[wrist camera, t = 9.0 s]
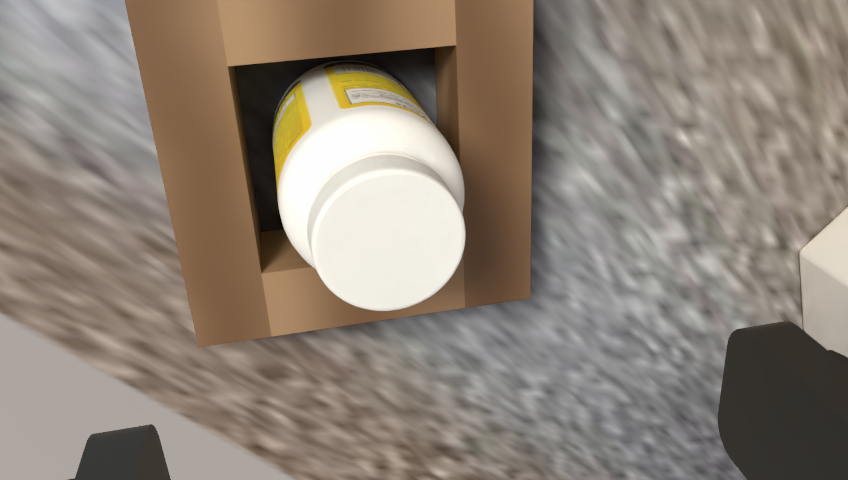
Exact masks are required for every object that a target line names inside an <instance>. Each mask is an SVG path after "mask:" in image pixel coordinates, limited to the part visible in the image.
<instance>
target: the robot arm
mask: <svg viewBox="0 0 848 480" xmlns="http://www.w3.org/2000/svg"><path fill="white" fill-rule="evenodd" d="M718 426H719V432H720V436H721V440H722V442H723V445H724V447H725V450H726V452H727V453H728V455H729V457H730V458H731V460H732V461H733V462H734V464H735V465H736V466H737V467H738V468H739V470H740V471H741V472H742V473H743V475H744V476H745V477H746V478H747V480H848V357H846V356H844V355H842V354H840V353H837V352H835V351H833V350H826V349H825V348H823V347H822V346H821V345H820V344H819V343H817V342H816V341H815V340H814V339H812V338H811V337H810V336H809V335H808V334H806V333H805V332H804V331H803V330H802V329H800V328H799V327H798V326H796V325H795V324H793V323H791V322H787V321H785V322H778V323H772V324H766V325H760V326H754V327H748V328H742V329H737V330H735V331H734V332H733V333H732V334H731V335H730V337H729V340H728V345H727V352H726V359H725V367H724V374H723V381H722V389H721V396H720V404H719V411H718ZM69 480H171V479H170V476H169V472H168V468H167V465H166V461H165V458H164V454H163V450H162V446H161V442H160V439H159V435H158V433H157V431H156V429H155V427H154V426H153V425H145V426H139V427H133V428H127V429H121V430H115V431H109V432H103V433H96V434H92V435H91V436H90V437H89V438H88V440H87V443H86V446H85V449H84V452H83V455H82V458H81V462H80V465H79V468H78V471H77V474H76V477H75V479H69Z"/></svg>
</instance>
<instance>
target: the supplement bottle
mask: <svg viewBox="0 0 848 480" xmlns="http://www.w3.org/2000/svg"><path fill="white" fill-rule="evenodd" d="M272 143H273V152H274V162H275V173H276V184H277V198H278V206H279V212H280V216H281V221H282V224H283V227H284V230H285V232H286V234H287V236H288V238H289V240H290V242H291V243H292V245H293V246H294V248H295V249H296V250H297V252H298V253H299V254H300V255H301V256H302V257H303V259H304V260H305V261H306V262H307V263H308V264H310V265H311V266H312V267H313V268H315V269H316V270H317V272H318V274H319V276H320V278H321V279H322V281H323V282H324V284H325V285H326V286H327V287H328V288H329V289H330V290H331V291H332V292H333V293H334V294H335V295H336V296H338V297H339V298H341V299H342V300H344V301H345V302H348V303H349V304H352V305H354V306H356V307H360V308H363V309H369V310H375V311H391V310H398V309H402V308H406V307H410V306H413V305H415V304H418V303H420V302H422V301H424V300H425V299H427V298H429V297H431V296H432V295H433V294H435V293H436V292H437V291H438V290H440V289H441V288H442V287H443V286H444V285H445V284H446V283H447V282H448V280H449V279H450V278H451V277H452V275H453V274H454V272H455V270H456V269H457V267H458V265H459V263H460V260H461V258H462V255H463V251H464V247H465V238H466V230H465V223H464V218H463V215H462V213H463V206H464V181H463V175H462V171H461V168H460V165H459V162H458V160H457V158H456V156H455V154H454V152H453V150H452V149H451V147H450V145H449V144H448V142H447V141H446V139H445V138H444V137H443V135H442V134H441V133H440V131H439V130H438V129H437V127H436V126H435V125H434V124H433V122H432V121H431V120H430V118H429V117H428V116H427V114H426V113H425V111H424V110H423V109H422V108H421V106H420V105H419V104H418V102H417V101H416V100H415V98H414V97H413V96H412V95H411V93H410V92H409V91H408V90H407V89H406V87H405V86H404V85H403V84H402V83H401V82H400V81H399V80H398V79H397V78H396V77H394V76H393V75H392V74H390V73H389V72H387V71H386V70H384V69H382V68H380V67H378V66H376V65H373V64H370V63H367V62H362V61H356V60H338V61H332V62H327V63H324V64H321V65H319V66H316V67H314V68H312V69H310V70H309V71H307V72H305V73H304V74H302V75H301V76H300V77H299V78H298V79H297V80H295V81H294V82H293V83H292V84H291V85H290V87H289V88H288V89H287V91H286V92H285V93H284V95H283V97H282V98H281V100H280V102H279V104H278V107H277V109H276V112H275V116H274V121H273V129H272Z"/></svg>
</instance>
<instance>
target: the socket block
mask: <svg viewBox="0 0 848 480" xmlns="http://www.w3.org/2000/svg"><path fill="white" fill-rule="evenodd" d="M125 4H126V9H127V13H128V18H129V23H130V27H131V32H132V37H133V41H134V46H135V51H136V56H137V60H138V65H139V70H140V74H141V79H142V84H143V88H144V93H145V98H146V102H147V107H148V112H149V117H150V121H151V126H152V131H153V135H154V140H155V145H156V149H157V154H158V159H159V164H160V168H161V173H162V178H163V182H164V187H165V192H166V196H167V201H168V206H169V210H170V215H171V220H172V225H173V229H174V234H175V239H176V243H177V248H178V253H179V257H180V262H181V267H182V272H183V276H184V281H185V286H186V290H187V295H188V300H189V304H190V309H191V314H192V318H193V323H194V328H195V333H196V337H197V342H198V347H205V346H212V345H218V344H225V343H232V342H239V341H245V340H252V339H259V338H266V337H272V336H279V335H286V334H292V333H299V332H306V331H313V330H319V329H326V328H333V327H340V326H346V325H353V324H360V323H367V322H373V321H380V320H387V319H394V318H400V317H407V316H414V315H421V314H427V313H434V312H441V311H448V310H454V309H461V308H468V307H475V306H481V305H488V304H495V303H502V302H508V301H515V300H522V299H529V298H530V288H531V188H532V87H533V0H125ZM431 47H434V57H435V79H436V101H437V123H438V130H439V131H440V133H441V134H442V135H443V137H444V138H445V139H446V141H447V142H448V144H449V145H450V147H451V149H452V150H453V152H454V154H455V156H456V158H457V160H458V162H459V165H460V168H461V171H462V175H463V181H464V206H463V213H462V215H463V218H464V223H465V230H466V238H465V247H464V251H463V255H462V258H461V260H460V263H459V265H458V267H457V269H456V270H455V272H454V274H453V275H452V277H451V278H450V279H449V280H448V282H447V283H446V284H445V285H444V286H443V287H442V288H441V289H440V290H438V291H437V292H436V293H435V294H433V295H432V296H431V297H429V298H427V299H425V300H424V301H422V302H420V303H418V304H415V305H413V306H410V307H406V308H402V309H398V310H391V311H375V310H369V309H363V308H360V307H356V306H354V305H352V304H349V303H348V302H345V301H344V300H342V299H341V298H339V297H338V296H336V295H335V294H334V293H333V292H332V291H331V290H330V289H329V288H328V287H327V286H326V285H325V284H324V282H323V281H322V279H321V278H320V276H319V274H318V272H317V270H316V269H315V268H313V267H312V266H311V265H310V264H308V263H307V262H306V261H305V260H304V259H303V257H302V256H301V255H300V254H299V253H298V252H297V250H296V249H295V248H294V246H293V245H292V243H291V242H290V240H289V238H288V236H287V234H286V232H285V230H284V229H281V230H273V231H265V232H261V229H260V223H259V217H258V211H257V204H256V198H255V192H254V185H253V179H252V173H251V166H250V160H249V154H248V148H247V141H246V135H245V129H244V122H243V116H242V110H241V104H240V97H239V91H238V85H237V78H236V72H235V66H237V65H248V64H258V63H269V62H280V61H291V60H302V59H312V58H323V57H334V56H345V55H356V54H366V53H377V52H388V51H399V50H410V49H420V48H431Z"/></svg>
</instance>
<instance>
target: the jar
mask: <svg viewBox="0 0 848 480" xmlns="http://www.w3.org/2000/svg"><path fill="white" fill-rule="evenodd" d="M799 260H800V275H801V292H802V310H803V329H804V331H805V332H806V333H807V334H808V335H809V336H810V337H812V338H813V339H814V340H815V341H817V342H818V343H819V344H820V345H822V346H823V347H824V348H825V349H826V350H833V351H835V352H837V353H840V354H842V355H844V356H846V357H848V206H847V207H846V208H845V209H844V210H843V211H842V212H841V213H840V214H839V215H838V216H837V217H836V218H834V219H833V220H832V221H831V222H830V223H829V224H828V225H827V226H826V227H825V228H824V229H823V230H821V231H820V232H819V233H818V234H817V235H816V236H815V237H814V238H813V239H812V240H811V241H810V242H808V243H807V244H806V245H805V246H804V247H803V248H802V249H801V250H800V252H799Z"/></svg>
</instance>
